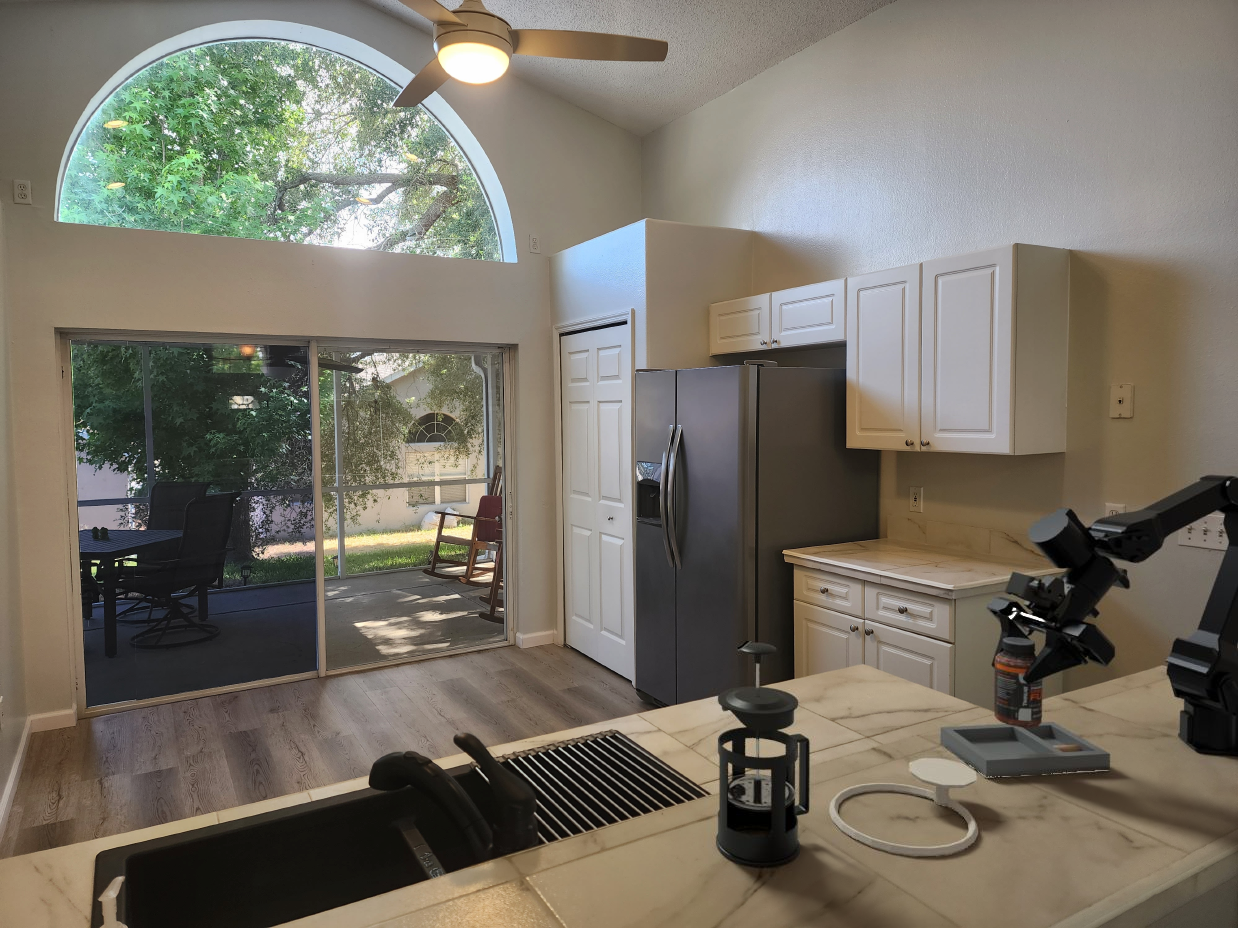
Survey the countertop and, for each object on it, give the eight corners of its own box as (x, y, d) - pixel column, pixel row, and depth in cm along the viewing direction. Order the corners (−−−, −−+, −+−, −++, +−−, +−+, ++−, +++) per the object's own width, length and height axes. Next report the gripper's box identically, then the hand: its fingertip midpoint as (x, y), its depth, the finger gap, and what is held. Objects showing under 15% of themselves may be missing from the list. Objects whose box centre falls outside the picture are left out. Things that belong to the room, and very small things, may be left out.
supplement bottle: (1039, 732, 105) (1039, 648, 104) (990, 723, 108) (991, 642, 108) (1044, 718, 110) (1045, 638, 109) (998, 710, 113) (998, 632, 113)
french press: (736, 876, 83) (736, 661, 82) (696, 834, 92) (696, 639, 91) (829, 854, 87) (830, 650, 86) (783, 816, 96) (783, 630, 95)
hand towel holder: (799, 778, 97) (906, 742, 108) (799, 813, 98) (906, 773, 109) (916, 836, 83) (1026, 787, 94) (916, 877, 83) (1026, 823, 94)
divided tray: (1052, 737, 120) (1052, 721, 120) (1109, 771, 108) (1110, 753, 108) (940, 743, 118) (940, 727, 118) (986, 778, 106) (986, 760, 106)
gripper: (997, 543, 118) (932, 620, 116) (1097, 563, 100) (1020, 655, 98) (1043, 591, 120) (979, 668, 118) (1148, 620, 102) (1074, 711, 100)
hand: (1009, 674), depth 109 cm, fingers closed on supplement bottle, 6 cm apart
